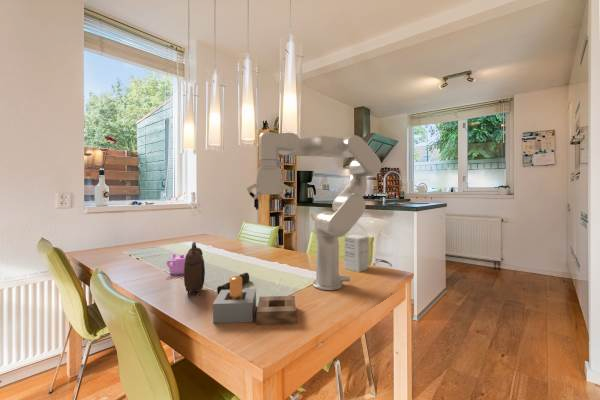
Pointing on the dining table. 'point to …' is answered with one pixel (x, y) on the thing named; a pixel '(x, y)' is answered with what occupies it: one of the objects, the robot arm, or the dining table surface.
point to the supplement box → (356, 252)
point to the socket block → (234, 307)
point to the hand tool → (227, 286)
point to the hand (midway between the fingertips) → (269, 209)
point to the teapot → (177, 264)
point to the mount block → (276, 310)
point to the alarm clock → (194, 269)
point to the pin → (236, 288)
